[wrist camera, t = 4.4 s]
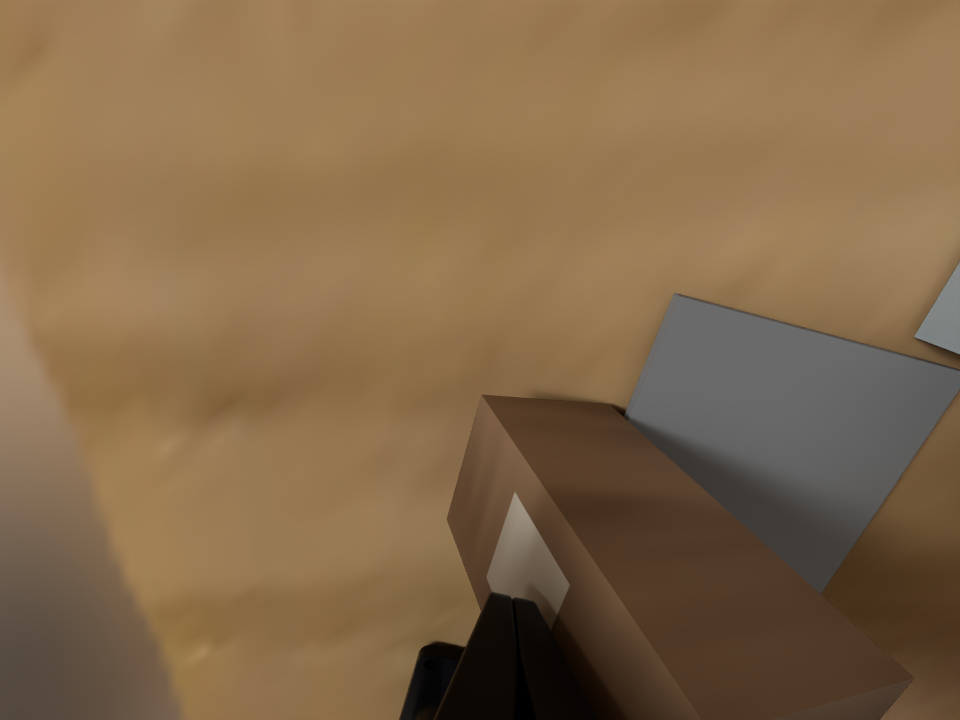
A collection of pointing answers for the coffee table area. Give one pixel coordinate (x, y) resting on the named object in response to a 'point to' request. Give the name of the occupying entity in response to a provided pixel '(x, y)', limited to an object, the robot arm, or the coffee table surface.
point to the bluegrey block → (944, 317)
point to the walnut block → (651, 576)
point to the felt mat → (786, 424)
